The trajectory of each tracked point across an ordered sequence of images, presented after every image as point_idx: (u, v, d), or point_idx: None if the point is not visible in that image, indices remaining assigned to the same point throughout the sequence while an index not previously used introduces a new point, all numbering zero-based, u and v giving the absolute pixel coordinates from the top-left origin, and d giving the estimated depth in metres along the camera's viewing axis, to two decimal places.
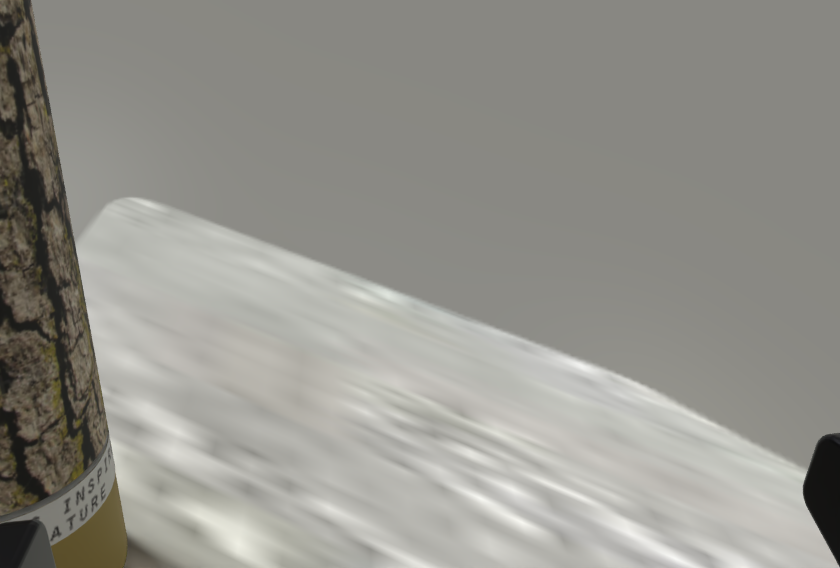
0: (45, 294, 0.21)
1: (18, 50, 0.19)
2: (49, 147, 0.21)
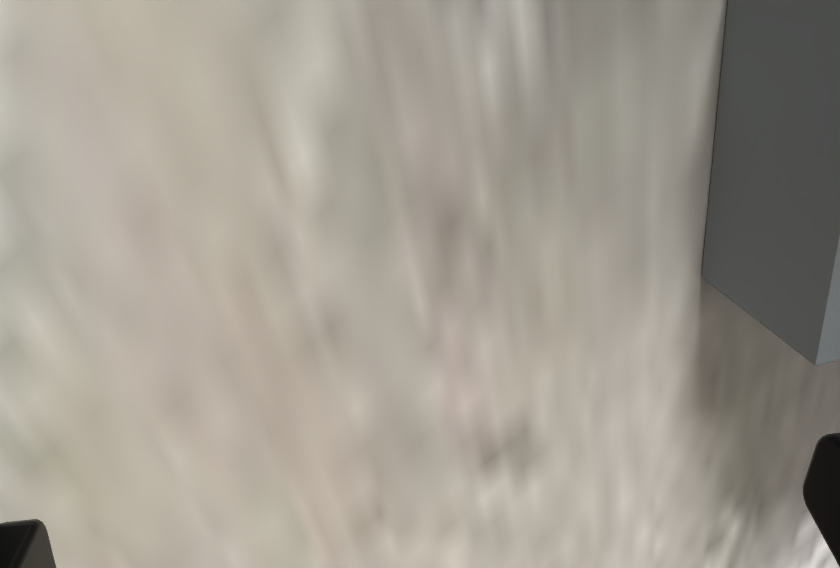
0: None
1: None
2: None
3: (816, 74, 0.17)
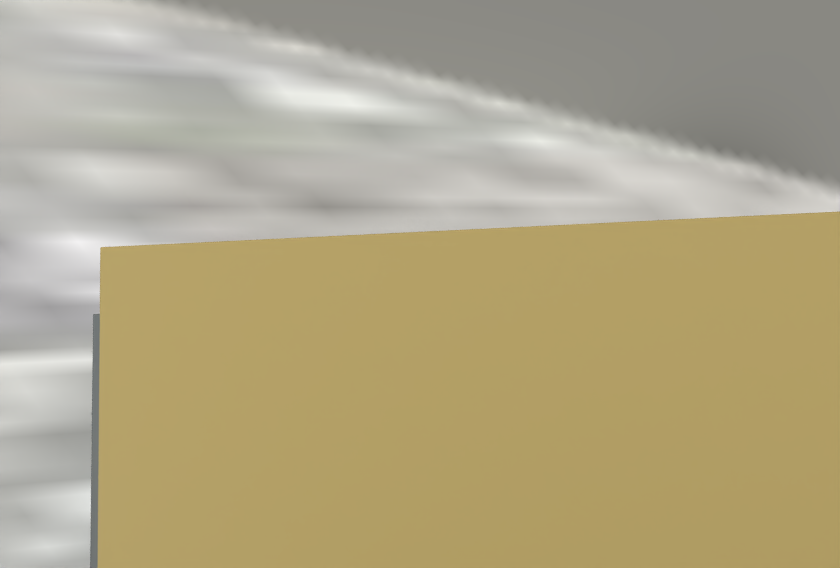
0: None
1: None
2: None
3: None
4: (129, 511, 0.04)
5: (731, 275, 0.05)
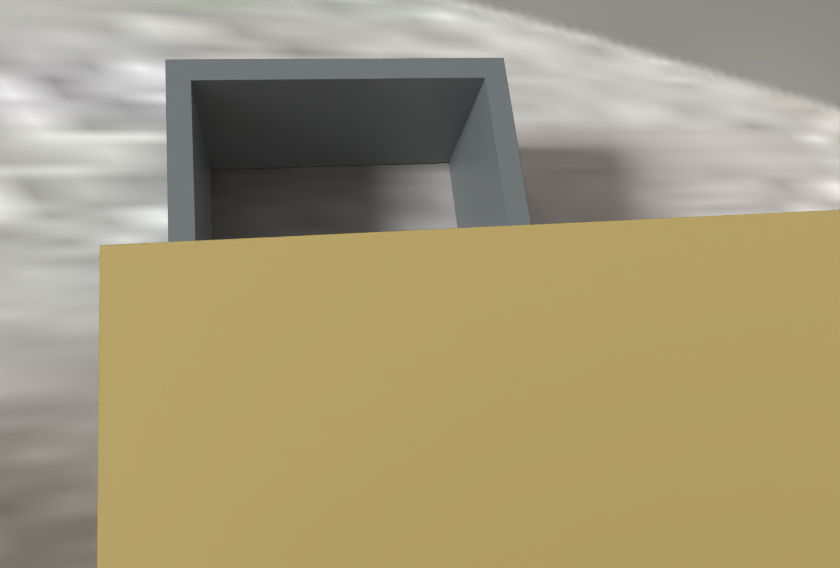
0: None
1: None
2: None
3: None
4: (128, 510, 0.04)
5: (732, 273, 0.05)
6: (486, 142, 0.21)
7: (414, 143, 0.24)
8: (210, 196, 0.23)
